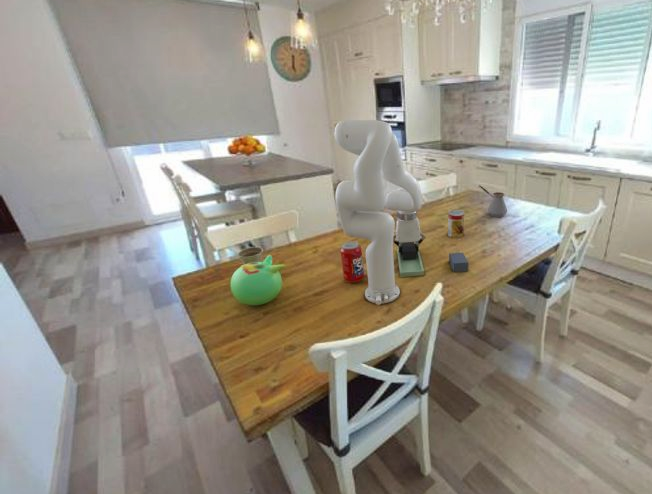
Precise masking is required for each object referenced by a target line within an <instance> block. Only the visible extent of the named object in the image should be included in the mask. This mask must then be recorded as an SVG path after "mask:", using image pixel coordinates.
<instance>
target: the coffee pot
mask: <svg viewBox="0 0 652 494" xmlns="http://www.w3.org/2000/svg"><path fill="white" fill-rule="evenodd" d="M478 189H482V190H483V192H484V193H486V194H488V195H489V196H490V197H491V198H492V200H491V201H490V203H489V205H488V207H487V212H488V214H489V215H490V216H491V217H494V218H501V217H504V215H506V214H507V213H508V207H507V205H506V202H505V200H504V196H505V193H504V192H501V191H499V192H498V191H495V192H493V193H492V194H491V193H490V192H489V191H488V190H487V189H486V188H484V187H483V186H482V185H480V184H479V185H478Z"/></svg>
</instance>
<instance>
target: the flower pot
mask: <svg viewBox="0 0 652 494" xmlns="http://www.w3.org/2000/svg"><path fill="white" fill-rule="evenodd" d="M263 252H264V248H263V247H261V246H252V247H251V246H250V247H245V248H243V249H241V250H240V251H238V253H237V257H238V258H239V259H240V260H241V262H242V265H245V264H248V263H252V262H263Z"/></svg>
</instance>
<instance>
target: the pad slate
mask: <svg viewBox="0 0 652 494" xmlns="http://www.w3.org/2000/svg"><path fill="white" fill-rule="evenodd" d="M448 255H449V256H448V262H449V264H450V267H451V269H452V271H453V273H458V272H460V273H461V272H468V271H469V261H468V259H467V257H466V255H465V253H464V252H463V251H461V252H450V253H449V254H448Z"/></svg>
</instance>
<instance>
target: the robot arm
mask: <svg viewBox="0 0 652 494" xmlns="http://www.w3.org/2000/svg"><path fill="white" fill-rule="evenodd" d="M392 129H393V128H392V126H391V124H389V123H388V122H386V121H383V120H380V119H379V120H378V119H343V120H341V121H339V122H338V123H337V124H336V126H335V128H334V131H333V133H334V139H335V142H336V144H337V145H338V147H340V148H341V150H344V151H346V152H348V153H351V154H352V155H353V154H354V155H356V156H358V157H357V158H356V160H355V162H354V164H353V168H352V170H353V177H354V179H346V180H343V181H341V182H339V183H338V185H337V186H336V190H335V195H334V197H335V205H336V209H337V212H338V216H339V217H338V218H339V221H340V225H341V228H342V230H343V233H344V234H345V235H346V236H348V237H349V238H355V239H362V240H369V241H370V243H369V244H368V246H367V247H366V248H365V263H366V272H367V273H366V274H367V275H366V276H367V283H368V284H367V285H368V287H367V288H366V289H365V291H364V297H365V299H366V300H367V301H368V302H370V303H373V304H376V305H377V306H380V305H382V304H387V303H391V302H393V301H395V300H396V299H398V298H399V296H400V293H401V291H400V288H399V287H400V286H398V285H397V284H396V277H395V276H396V275H395V257H394V244H395V245H396V246H397V248H399V253H401V255H402V243H403V242H414V243H415V247H416V254H417V252H418V251H419V252H420V250H419V249H420V248H419V247H420V245H421V243H423V242H424V241H425V239H426V238H427V236H426V234H424V233H423V232H422V231H421V227H420V219H419V217H418V216H417V212H418V211H420V210H421V208H422V205H423V198H422V197H423V196H422V192H421V187H420V184H419V182H418V180H417V179H416V178H415V177H414V175H412V174H411V173H410V172H409V171H407V170H406V169H405V168H404V163H403V159H402V155H401V149H400V146H399V145H400V144H399V141H398V137H397V136H396V134H395V133H394V132H393V130H392ZM384 180H385V181H386V182H388V183H390V184H393V185H395V186H397V187H398V188H397V189H394V190H391V191H389V192H388V193H386V188H385V181H384ZM385 207H386V208H387V209H388V210H390V211H397V213H394V216H392V214H389V213H388V212H384V211H383V210H384V209H385ZM394 217H396V223H395V219H394ZM395 224H396V225H395ZM395 226H396V227H395Z"/></svg>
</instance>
